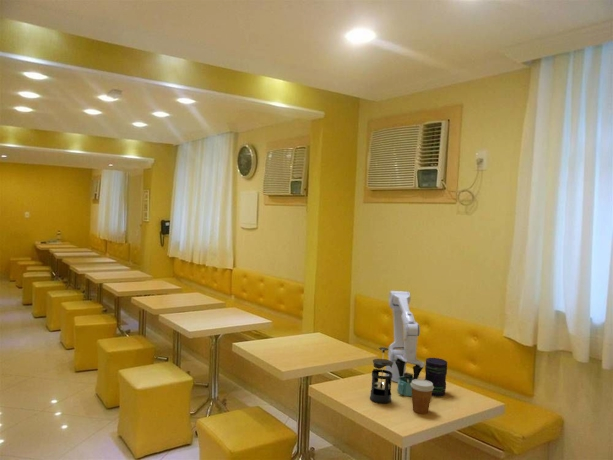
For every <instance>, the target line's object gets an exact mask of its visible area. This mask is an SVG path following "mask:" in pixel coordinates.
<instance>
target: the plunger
mask: <svg viewBox="0 0 613 460" xmlns="http://www.w3.org/2000/svg"><path fill="white" fill-rule="evenodd" d="M404 377H405V378H407V383H409V378H413V377H414V373H411V372H405V373H404Z"/></svg>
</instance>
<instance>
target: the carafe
mask: <svg viewBox="0 0 613 460" xmlns="http://www.w3.org/2000/svg"><path fill="white" fill-rule="evenodd" d="M412 380H413V378H409V383H407V378H405V377H403V376H402V377H400V378H398V382H397V393H398V394H399V395H402V396H404V397H412V387H411V382H412Z"/></svg>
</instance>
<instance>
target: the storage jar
mask: <svg viewBox="0 0 613 460" xmlns="http://www.w3.org/2000/svg"><path fill="white" fill-rule="evenodd" d="M424 367H425V368H424V372H425V377H424V380H427V381H430V382H432V383H433V386H434V389H433V390H432V395H431V397H435V398H439V397H444V396H446V390H447V382H446V379H447V374H448V361H447V360H445V359H442V358H437V357H427V358H426V359H425V364H424Z"/></svg>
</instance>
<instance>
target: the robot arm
mask: <svg viewBox="0 0 613 460" xmlns="http://www.w3.org/2000/svg"><path fill="white" fill-rule="evenodd" d="M410 303H411V293H410V291H400V290H390V292H389V295H388V305H389V308H390V309H392V318H393V341H392V343H390V345H388V349H389V350H387V351H388V353H387V357H388V360H390V361H392V362H393V365H392V368H391V367H390V366H385V370H387V371H390V372H392V374H393V375H392V378H391V382H395V383H398V378H400V377H402V376H403V377H404V373H406V369H407V366H406V365H407V364H411V365H413V366H412V370H413V380H414V379H419V376H420V374H421V372H422V370H423V369H424V367H425V362H424V361H421V360H420V359H417V349H418V347H417V346H418V337H419V336H420V332H421V328H420V324H419V323H418V322H417V321H416V320H415V317H414V312H412V311H410V306H409V305H410ZM384 376H389V374H387V373H384Z"/></svg>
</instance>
